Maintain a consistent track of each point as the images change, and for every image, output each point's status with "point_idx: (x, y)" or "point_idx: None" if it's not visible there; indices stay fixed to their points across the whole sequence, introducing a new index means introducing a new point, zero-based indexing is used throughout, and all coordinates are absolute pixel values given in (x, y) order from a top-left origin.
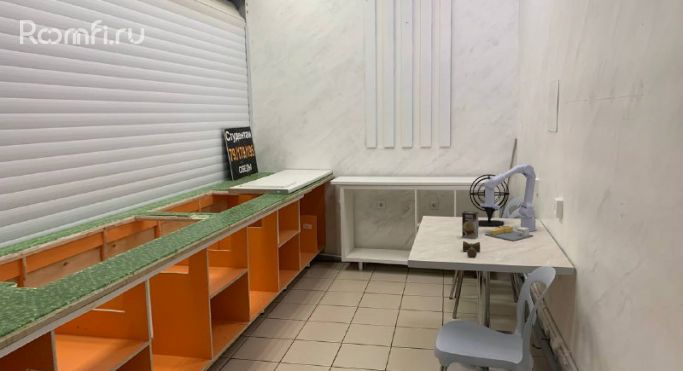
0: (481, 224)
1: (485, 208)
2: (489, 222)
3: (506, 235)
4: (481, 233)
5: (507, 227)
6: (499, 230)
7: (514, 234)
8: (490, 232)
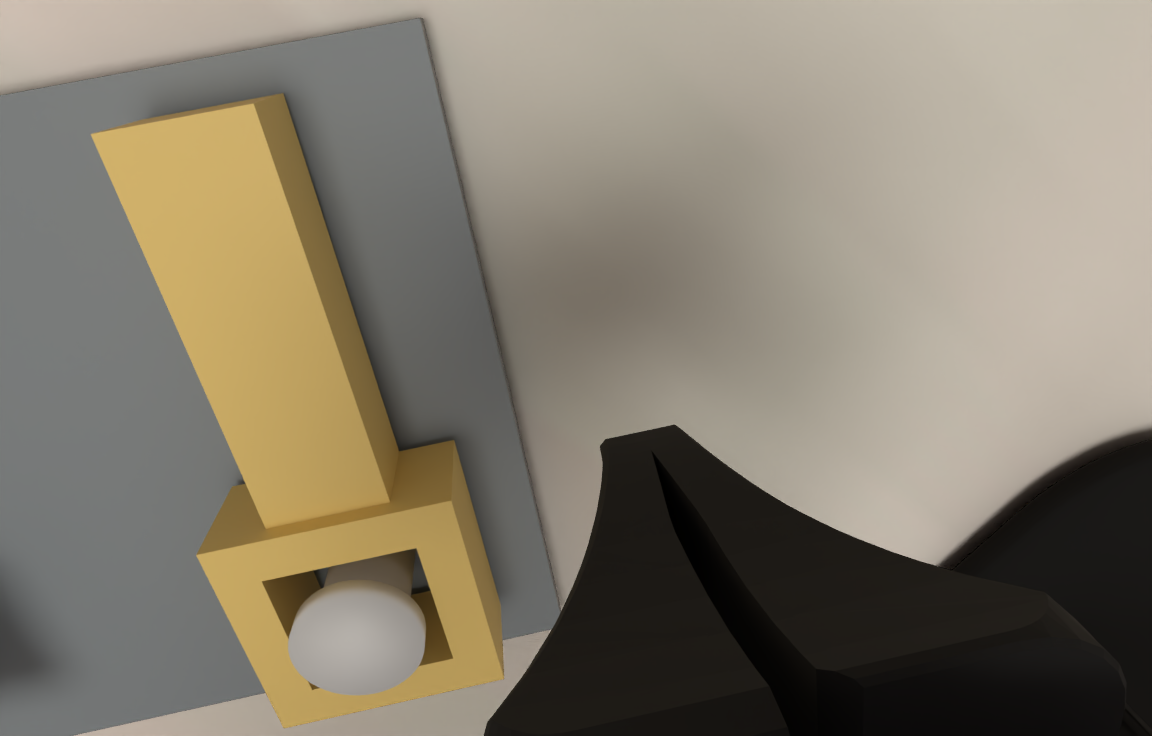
0: (1090, 498)
1: (1018, 702)
2: None
3: (27, 367)
4: (643, 97)
5: (269, 616)
6: (199, 357)
7: (65, 550)
8: (253, 99)
